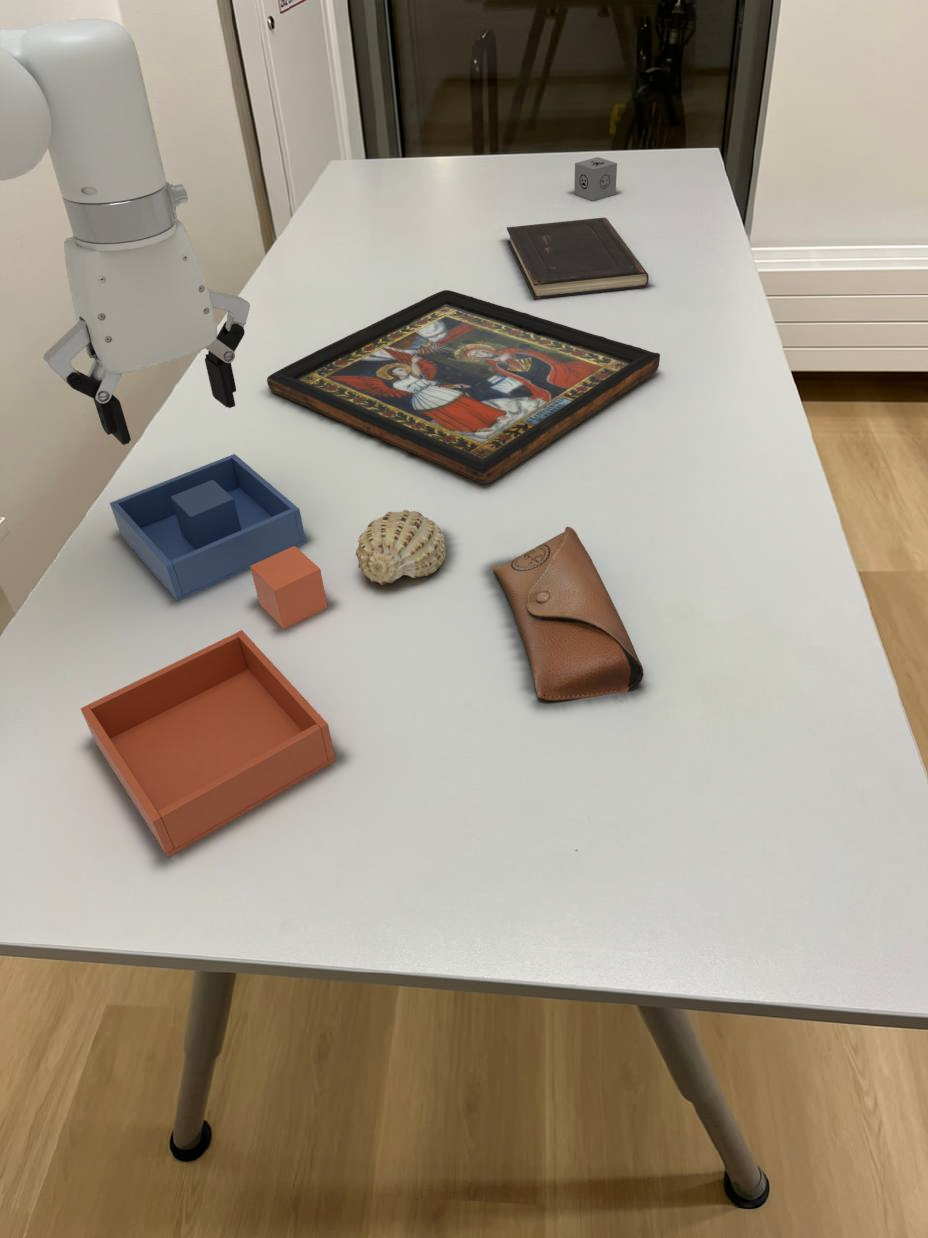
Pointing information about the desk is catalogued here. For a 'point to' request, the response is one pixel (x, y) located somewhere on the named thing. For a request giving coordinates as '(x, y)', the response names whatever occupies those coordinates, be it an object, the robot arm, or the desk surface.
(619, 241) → the hardcover book
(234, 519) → the blue block
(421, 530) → the seashell
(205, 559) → the blue bin
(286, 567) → the terracotta block
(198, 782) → the terracotta bin
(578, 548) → the sunglasses case
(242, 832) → the desk surface
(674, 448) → the desk surface
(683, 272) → the desk surface
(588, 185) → the dice cube
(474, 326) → the framed icon painting
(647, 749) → the desk surface
